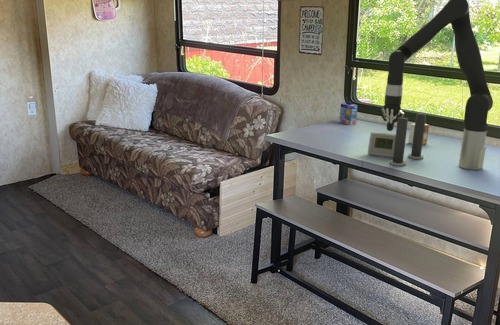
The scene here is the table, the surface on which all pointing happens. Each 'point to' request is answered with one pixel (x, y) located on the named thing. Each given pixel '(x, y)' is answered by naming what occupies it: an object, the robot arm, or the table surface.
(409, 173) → the table surface
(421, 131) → the post right
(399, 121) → the post left
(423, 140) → the small box
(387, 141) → the digital clock
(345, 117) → the ink cartridge box
